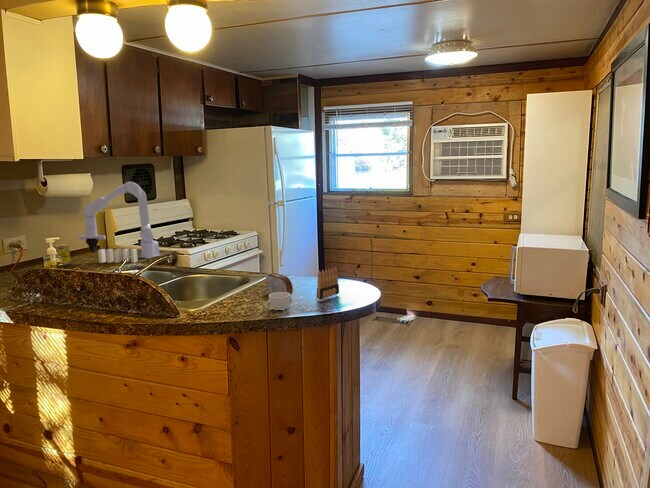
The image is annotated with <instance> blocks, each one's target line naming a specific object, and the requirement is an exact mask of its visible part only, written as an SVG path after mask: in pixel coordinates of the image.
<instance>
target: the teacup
mask: <svg viewBox="0 0 650 488" xmlns="http://www.w3.org/2000/svg"><path fill="white" fill-rule="evenodd" d="M268 304H269V305H268ZM290 304H291V296H290V293H287V292H276V293H272V294H271V293H270V294H268V300H267V301H266V304H265V306H266V307H267V308H270V309H272V308H273V309H283V308H287V307H288V308H289V307H290V306H291V305H290ZM288 308H287V309H288ZM273 309H272V310H273Z"/></svg>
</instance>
